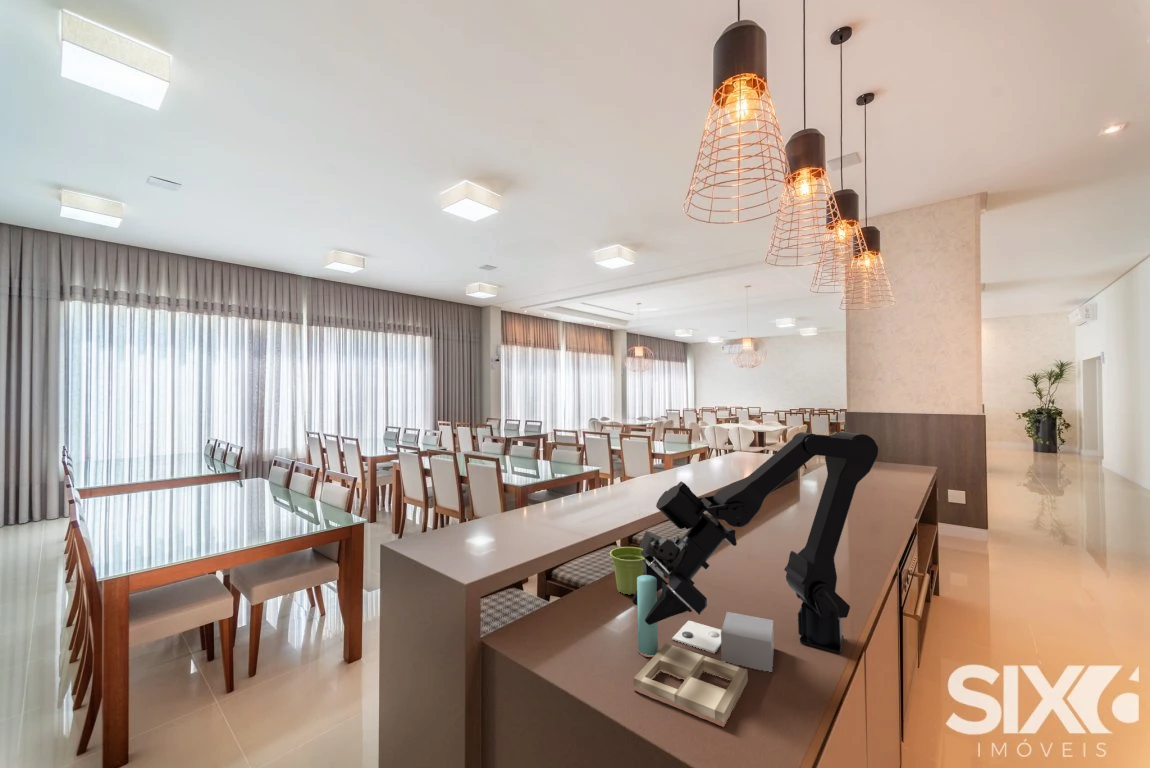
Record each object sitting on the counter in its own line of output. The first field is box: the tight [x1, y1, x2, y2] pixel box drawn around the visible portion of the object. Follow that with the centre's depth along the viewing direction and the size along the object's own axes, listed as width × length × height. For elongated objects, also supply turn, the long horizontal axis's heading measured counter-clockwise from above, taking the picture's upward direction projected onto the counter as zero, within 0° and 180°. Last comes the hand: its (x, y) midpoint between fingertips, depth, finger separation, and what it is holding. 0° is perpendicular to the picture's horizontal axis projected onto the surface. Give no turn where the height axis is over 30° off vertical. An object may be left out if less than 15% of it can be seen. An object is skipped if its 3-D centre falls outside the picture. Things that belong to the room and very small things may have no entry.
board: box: [633, 643, 749, 723], centre depth 72 cm, size 14×12×2 cm
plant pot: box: [609, 546, 646, 596], centre depth 108 cm, size 9×9×9 cm
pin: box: [637, 575, 659, 655], centre depth 82 cm, size 4×4×13 cm
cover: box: [720, 611, 775, 673], centre depth 81 cm, size 8×8×5 cm
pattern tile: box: [671, 620, 722, 654], centre depth 87 cm, size 8×8×1 cm
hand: (640, 612), depth 82 cm, fingers open, 7 cm apart
